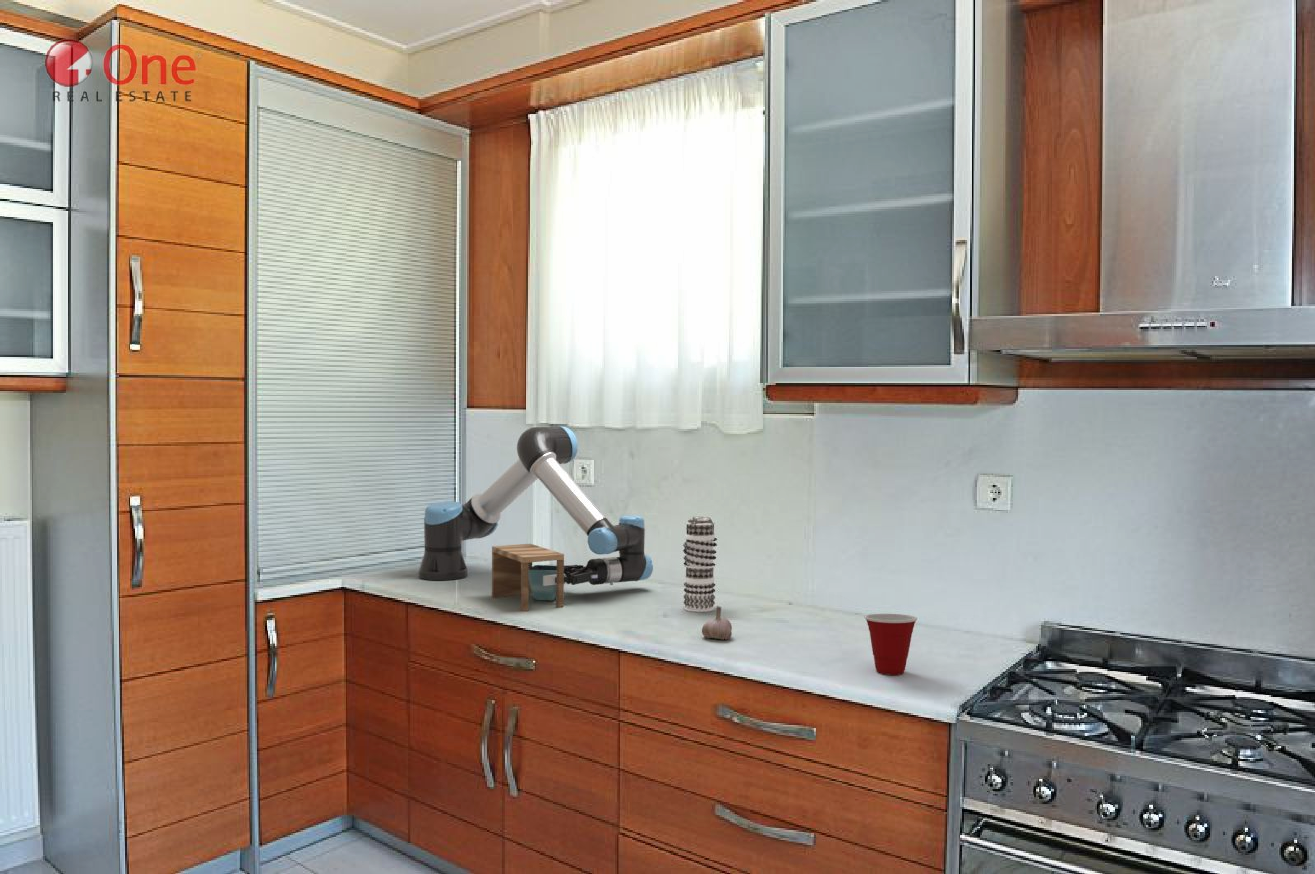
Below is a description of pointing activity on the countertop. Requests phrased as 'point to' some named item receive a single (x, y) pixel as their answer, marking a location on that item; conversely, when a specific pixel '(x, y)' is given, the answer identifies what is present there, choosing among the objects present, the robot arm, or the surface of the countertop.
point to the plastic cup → (890, 641)
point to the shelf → (522, 571)
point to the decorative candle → (699, 565)
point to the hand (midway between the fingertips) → (534, 577)
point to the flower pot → (537, 582)
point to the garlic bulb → (717, 627)
